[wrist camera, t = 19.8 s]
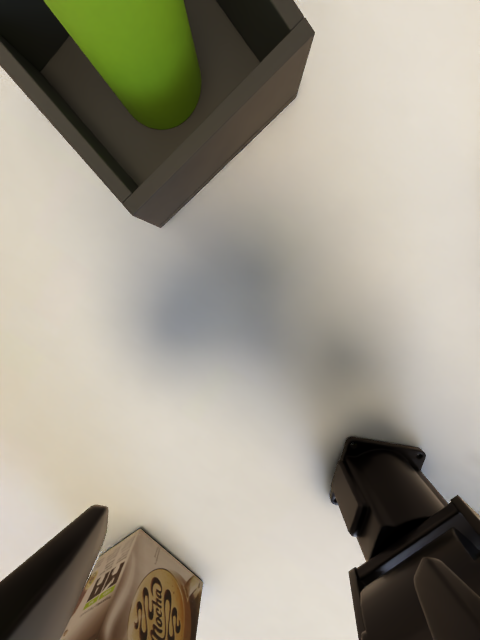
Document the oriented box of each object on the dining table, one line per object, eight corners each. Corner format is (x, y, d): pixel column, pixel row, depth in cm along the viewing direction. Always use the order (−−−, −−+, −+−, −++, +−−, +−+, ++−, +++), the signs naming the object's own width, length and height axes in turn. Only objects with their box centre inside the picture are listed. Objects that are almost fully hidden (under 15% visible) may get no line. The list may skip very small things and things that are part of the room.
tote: (296, 97, 16) (315, 32, 11) (160, 228, 18) (132, 216, 13) (164, -91, 14) (126, -254, 10) (29, 76, 16) (-54, 4, 12)
